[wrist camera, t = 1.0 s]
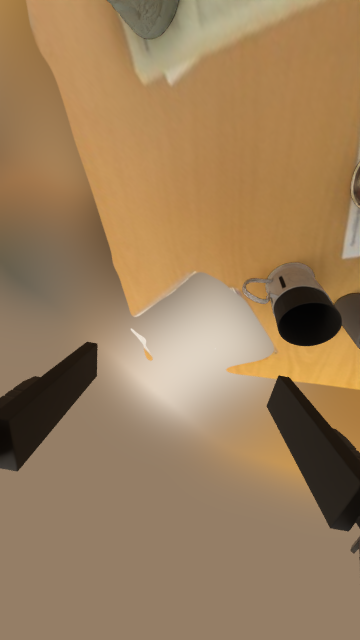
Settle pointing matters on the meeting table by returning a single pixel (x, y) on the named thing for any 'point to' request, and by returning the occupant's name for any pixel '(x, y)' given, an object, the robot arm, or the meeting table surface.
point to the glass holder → (299, 305)
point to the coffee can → (356, 186)
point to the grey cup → (146, 15)
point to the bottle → (350, 315)
